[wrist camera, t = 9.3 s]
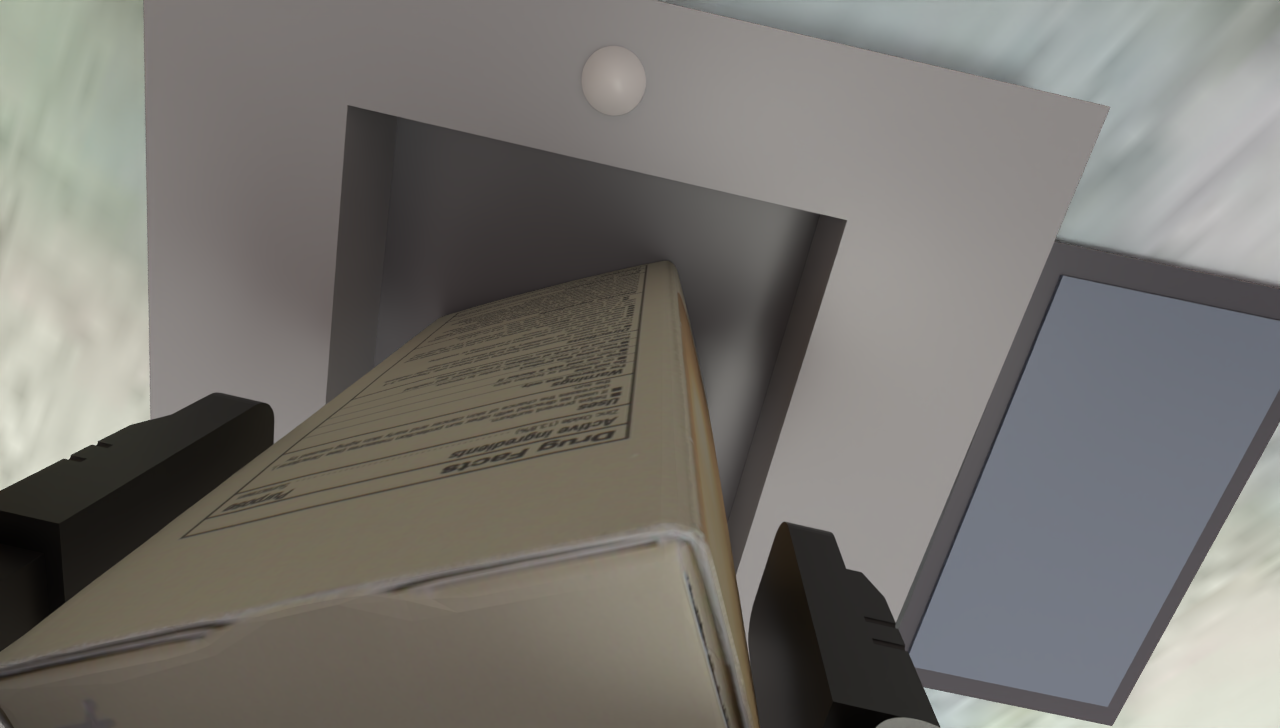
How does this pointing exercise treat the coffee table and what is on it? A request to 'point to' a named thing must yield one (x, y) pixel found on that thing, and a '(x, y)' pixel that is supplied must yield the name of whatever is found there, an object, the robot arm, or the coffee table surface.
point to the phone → (1094, 482)
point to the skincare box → (440, 549)
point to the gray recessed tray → (612, 224)
